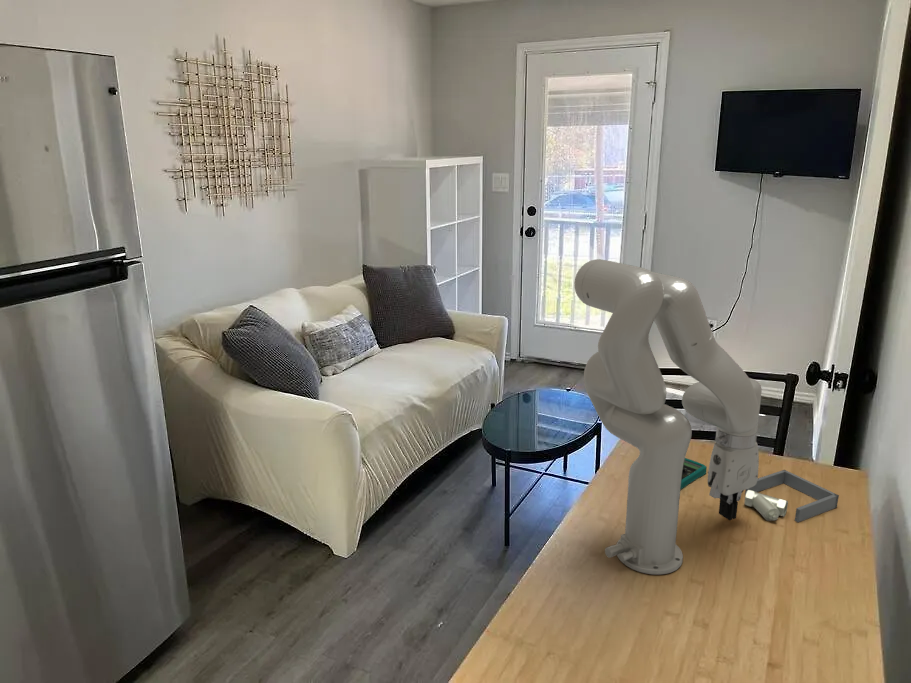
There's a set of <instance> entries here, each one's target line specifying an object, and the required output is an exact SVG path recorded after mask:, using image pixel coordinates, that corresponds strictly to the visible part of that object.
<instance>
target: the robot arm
mask: <svg viewBox="0 0 911 683" xmlns="http://www.w3.org/2000/svg"><path fill="white" fill-rule="evenodd" d="M574 290H575V294H576V296H577V297H578V299H579V300H580V301H581V302H582V303H583V304H585V305H586V306H589V307H591V308H595V309H598V310H600V311H605V312H607V313H611V316H610V317H609V319H608V322H607V324H606V325H605V327H604V330H603V331H602V333H601V334H600V337H599V338H598V344H597V349H598V350H597V351H596V352H595V353H593V355H591V357H589V359H588V361H587V362H586V364H585V367H584V372H583V384H584V388H585V391H586V393H587V395H588V397H589V399H590V402H591V403H592V406H593V408H594V410H595V413H597V416H598V417H599V419H600V421H601V423H602V425H603V427H604V428H605V429H606V430H607V431H608V432H609V433H610V434H611V435H613V436H614V437H616V438H618V439H620V440H622V441H624V442H626V443H627V444H628V445H632V446H633V447H634V448H636V449H637V450H638V451H639V455H638V457H637V458H636V459H635V460H634V461H633V463H632V464H631V466H630V467H629V471H628V480H627V481H628V482H627V483H628V484H627V485H628V486H627V487H628V488H627V497H626V498H627V500H626V514H625V530H624V533H623V534H620V538H619V539H618V541H617V542H616V544H615V545H614V544H613V545H611V546H607V547H605V549H604V553H605V556H606V557H607V558H609V559H610V558H613V557H615V556H616V557H617V558H618V560H620V562H621V563H622V564H624V565H625V566H626V567H628V568H629V569H632V570H634V571H637V572H638V573H642V574H649V575H666V574H670V573H673V572H676V571H677V570H679V568H681V566H682V564H683V559H684V555H683V552H682V549H681V548H680V547H679V546H678V545H677V541H676V540H677V534H678V532H677V531H678V520H679V512H680V511H679V509H680V496H681V490H680V488H681V478H682V470H683V464H684V460H685V458H686V457H687V453H688V449H689V446H690V443H691V439H692V435H693V434H692V432H693V431H692V425H691V423H690V421H689V419H688V417H687V416H685V414H684V413H682V412H681V411H679V410H678V409H676V408H674V407H673V406H669V405H668V404H667V403H666V399H667V387H666V383H665V380H664V377H663V374H662V372H661V369H660V367H659V365H658V363H657V360H656V358H655V356H654V353H653V350H652V346H651V345H650V340H649V337H650V336H649V335H650V331H651V328H652V326H653V323H655V325H656V328H657V329H658V332H659V334H660V337H661V338H662V341H663V344H664V346H665V349H666V351H667V354H668V356H669V358H670V360H671V362H672V363H673V364H674V365H676V366H677V367H678V368H679V369H680V370H682V372H684V373H685V374H686V375H688V376H690V377H691V378H693V379H694V380H696V381H697V382H695V383H693V384H690V385H689V386H688V387H687V388H686V390H684V392H683V394H682V396H681V398H682V399H681V404H682V406H683V409H684V411H685V412H686V413H687V414H688V415H690V416H691V417H693V418H695V419H698V420H701V421H702V422H705V423H707V424H709V425H712V426H715V427H716V431H715V438H714V441H715V443H714V444H713V447H712V450H711V454H710V460H709V465H708V469H707V470H708V472H707V485H708V487H709V488H710V490H709V496H710V497H711V498H714V499H719V505H718V506H719V507H718V515H720V516H721V517H723V518H724V519H726V520H728V521H732V520H736V519H737V513H738V507H739V506H738V503H739V502H740V500H741V498H742V494H743V492H744V491H745V490H746V489H749V488H751V487H753V486H755V485H756V483H757V479H758V477H759V462H760V460H759V457H760V456H759V446H758V442H757V434H758V426H759V425H758V424H759V418H760V409H761V400H762V394H763V393H762V391H763V389H762V388H763V387H762V385H761V384H760V382H759V381H757V380H756V379H754V378H751V377H749V376H748V375H747V373H746V372H745V371H744V370H743V368H742V367H741V365H739V364H738V363H737V362H736V360H734V359H733V357H731V355H729V353H728V352H727V351H726V350H725V349H724V348H723V347H722V346H720V344H718V342H717V341H716V338H715V335H714V332H713V330H712V328H711V325H710V322H709V320H708V317H707V314H706V311H705V308H704V306H703V302H702V300H701V297H700V294H699V291H698V290H697V288H696V286H695V285H694V284H693V283H692V282H690V281H689V280H687V279H685V278H682V277H680V276H675V275H674V276H673V275H669V274H664V273H660V272H655V271H651V270H649V269H648V268H644V267H640V266H635V265H630V264H626V263H622V262H616V261H611V260H606V259H602V258H601V259H600V258H596V259H592V260H590V261H587V262H585V263H584V264H583V265H582V266H581V267H580V268H579V269H578V271H577V272H576V275H575V277H574ZM665 403H666V404H665Z"/></svg>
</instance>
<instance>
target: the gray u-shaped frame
mask: <svg viewBox="0 0 911 683" xmlns="http://www.w3.org/2000/svg"><path fill="white" fill-rule="evenodd" d="M782 484H785V485H786V486H789V487H790V488H792V489H795V490H796V491H798V492H800V493H802V494H805V495H806V496H808V497H811V498H813V499H815V500H814V501H812V502H809V503H807V504H804V505H801V506H798V507H796V509H795V515H794V521H795V522H796V523H800V522H803V521H805V520H808V519H811V518H813V517H816V516H818V515H820V514H823V513H827V512H829V511H831V510H833V509H836V508H838V502H839V498H840V497H839V496H840V494H837V493H835V492H833V491H831V490H829V489H826V488H824V487H822V486H821V485H819V484H816V483H814V482H812V481H810V480H808V479H806V478H803V477H802V476H799V475H797V474H795V473H792V472H790V471H788V470H786V469H782V470H779V471H777V472H773V473H771V474H768V475H763V476H761V477H759V478H758V479H757V483H756V485H755V486H753V487H751V488H749V489H746V490H744V491H745V492H744V494H745V495H746V493H747V491H748V490H752V491H755V492H757V493H760V492H763V491H765V490H767V489H771V488H774V487H777V486H779V485H782Z"/></svg>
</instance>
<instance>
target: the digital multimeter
mask: <svg viewBox="0 0 911 683" xmlns="http://www.w3.org/2000/svg"><path fill="white" fill-rule="evenodd" d="M707 470H708V467H707V465H705V464H703V463H701V462H698V461H696V460H693V459H690V458H687V457H685V460H684V464H683V470H682V478H681V488H680V491H681V490H682V489H684V488H686V487H687V486H688V485H690V484H691V483H692V482H693V483H694V482H695V481H696V480H698V479H699V478H701V477H703V476H705V475H706V474H707Z"/></svg>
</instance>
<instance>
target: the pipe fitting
mask: <svg viewBox="0 0 911 683" xmlns="http://www.w3.org/2000/svg"><path fill="white" fill-rule="evenodd" d="M788 504H789V501H788V500H785V499H782V498H779V497H774V496H771V495H767V494H763V493H760V492H755V491H752V490H748V491H747V493H746V494H745V497H744V505H745V506H748V507H751V508H754V509H756V511H757V512H758V513H759V514H760V515H761V516H762V517H763V518H764V519H765V520H766V522H772V521H777V520H778V518H779V516H780V517H785V516H786V514H787V511H788V507H789V505H788Z"/></svg>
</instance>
